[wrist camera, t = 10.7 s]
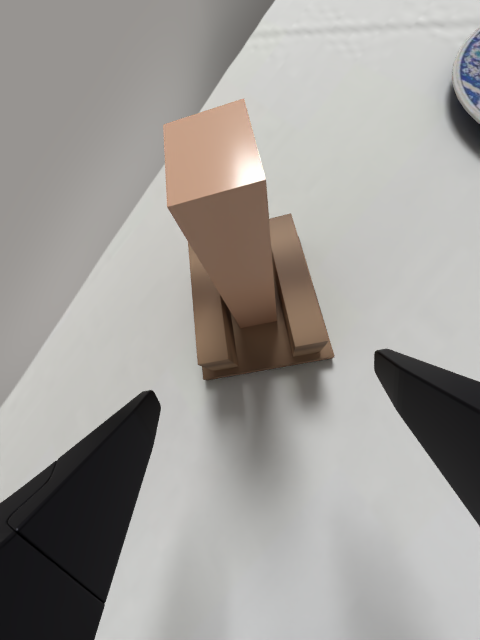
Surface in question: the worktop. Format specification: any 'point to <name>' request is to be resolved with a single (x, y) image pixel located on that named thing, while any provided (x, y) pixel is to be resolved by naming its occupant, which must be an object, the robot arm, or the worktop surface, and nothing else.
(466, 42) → the ceramic plate
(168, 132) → the clay block
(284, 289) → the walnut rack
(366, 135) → the worktop surface
